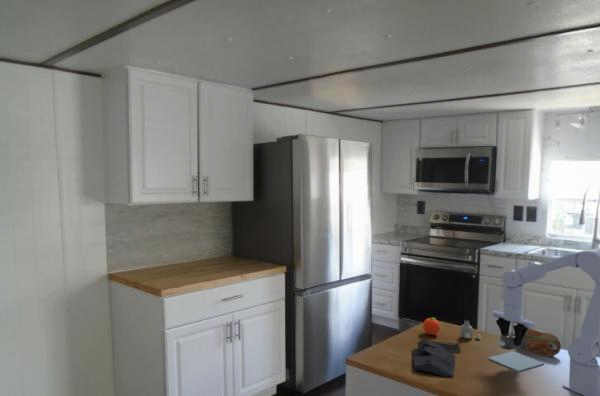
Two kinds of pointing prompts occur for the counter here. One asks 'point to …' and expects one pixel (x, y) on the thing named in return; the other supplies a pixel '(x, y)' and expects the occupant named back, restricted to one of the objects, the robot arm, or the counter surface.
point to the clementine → (431, 326)
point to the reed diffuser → (467, 323)
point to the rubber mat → (516, 361)
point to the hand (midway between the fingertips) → (511, 342)
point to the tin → (541, 342)
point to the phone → (447, 346)
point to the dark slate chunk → (434, 359)
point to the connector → (508, 341)
